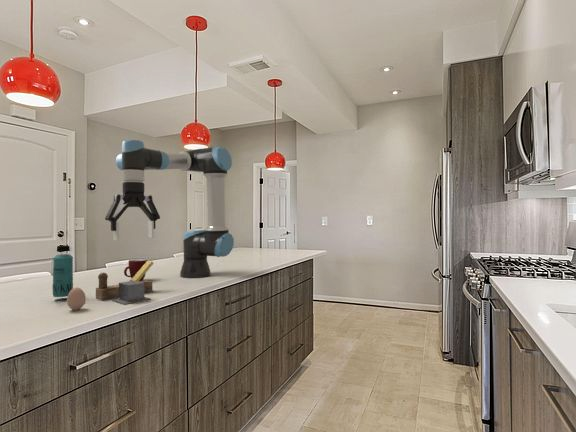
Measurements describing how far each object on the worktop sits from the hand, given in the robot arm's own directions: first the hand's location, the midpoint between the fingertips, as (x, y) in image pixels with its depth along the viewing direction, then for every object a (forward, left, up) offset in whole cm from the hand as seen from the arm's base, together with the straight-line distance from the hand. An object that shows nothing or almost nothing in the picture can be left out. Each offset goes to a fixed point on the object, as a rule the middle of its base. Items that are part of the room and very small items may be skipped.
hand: (134, 238), depth 134 cm
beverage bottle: (+17, -19, -22) cm, 34 cm away
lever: (-4, -8, -17) cm, 20 cm away
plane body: (-1, -8, -22) cm, 24 cm away
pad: (+2, +2, -22) cm, 22 cm away
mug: (-18, -32, -22) cm, 43 cm away
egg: (+20, +1, -23) cm, 30 cm away
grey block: (+2, +2, -22) cm, 22 cm away
